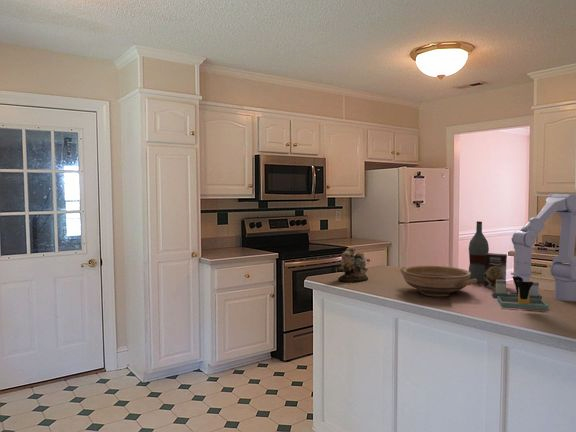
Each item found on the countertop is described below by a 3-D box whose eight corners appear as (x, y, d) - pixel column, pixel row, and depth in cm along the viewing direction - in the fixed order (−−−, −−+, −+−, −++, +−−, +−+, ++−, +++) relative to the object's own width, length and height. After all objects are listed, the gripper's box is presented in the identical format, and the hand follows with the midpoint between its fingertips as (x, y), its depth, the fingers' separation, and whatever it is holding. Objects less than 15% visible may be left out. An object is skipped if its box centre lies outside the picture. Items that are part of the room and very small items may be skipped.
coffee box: (483, 289, 212) (484, 254, 211) (484, 286, 218) (485, 252, 217) (505, 291, 208) (506, 255, 207) (506, 288, 213) (507, 253, 212)
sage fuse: (504, 296, 192) (505, 280, 192) (505, 297, 190) (506, 281, 190) (495, 296, 193) (495, 279, 193) (496, 297, 191) (496, 280, 191)
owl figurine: (347, 284, 223) (347, 249, 222) (331, 280, 233) (331, 247, 232) (373, 279, 234) (373, 246, 233) (357, 276, 243) (357, 244, 242)
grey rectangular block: (536, 298, 189) (537, 281, 188) (538, 299, 187) (538, 282, 186) (527, 298, 190) (527, 281, 190) (528, 299, 188) (528, 282, 187)
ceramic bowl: (493, 296, 197) (493, 273, 197) (455, 306, 180) (455, 281, 179) (420, 282, 227) (421, 262, 226) (382, 290, 209) (382, 268, 209)
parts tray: (541, 305, 182) (541, 298, 182) (548, 312, 171) (548, 305, 171) (497, 302, 187) (497, 296, 187) (501, 309, 176) (501, 302, 176)
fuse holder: (539, 300, 191) (539, 293, 190) (543, 303, 184) (543, 296, 184) (491, 297, 196) (491, 290, 196) (493, 300, 190) (493, 293, 189)
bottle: (481, 284, 221) (482, 222, 220) (464, 281, 229) (465, 221, 227) (491, 282, 227) (493, 221, 225) (474, 279, 234) (476, 220, 233)
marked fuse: (528, 305, 179) (528, 287, 179) (529, 306, 177) (529, 288, 177) (517, 304, 181) (518, 286, 180) (518, 306, 178) (519, 288, 178)
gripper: (508, 258, 186) (507, 292, 187) (514, 264, 172) (513, 300, 173) (527, 259, 184) (526, 293, 185) (535, 265, 170) (534, 301, 171)
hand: (521, 296), depth 179 cm, fingers open, 7 cm apart
